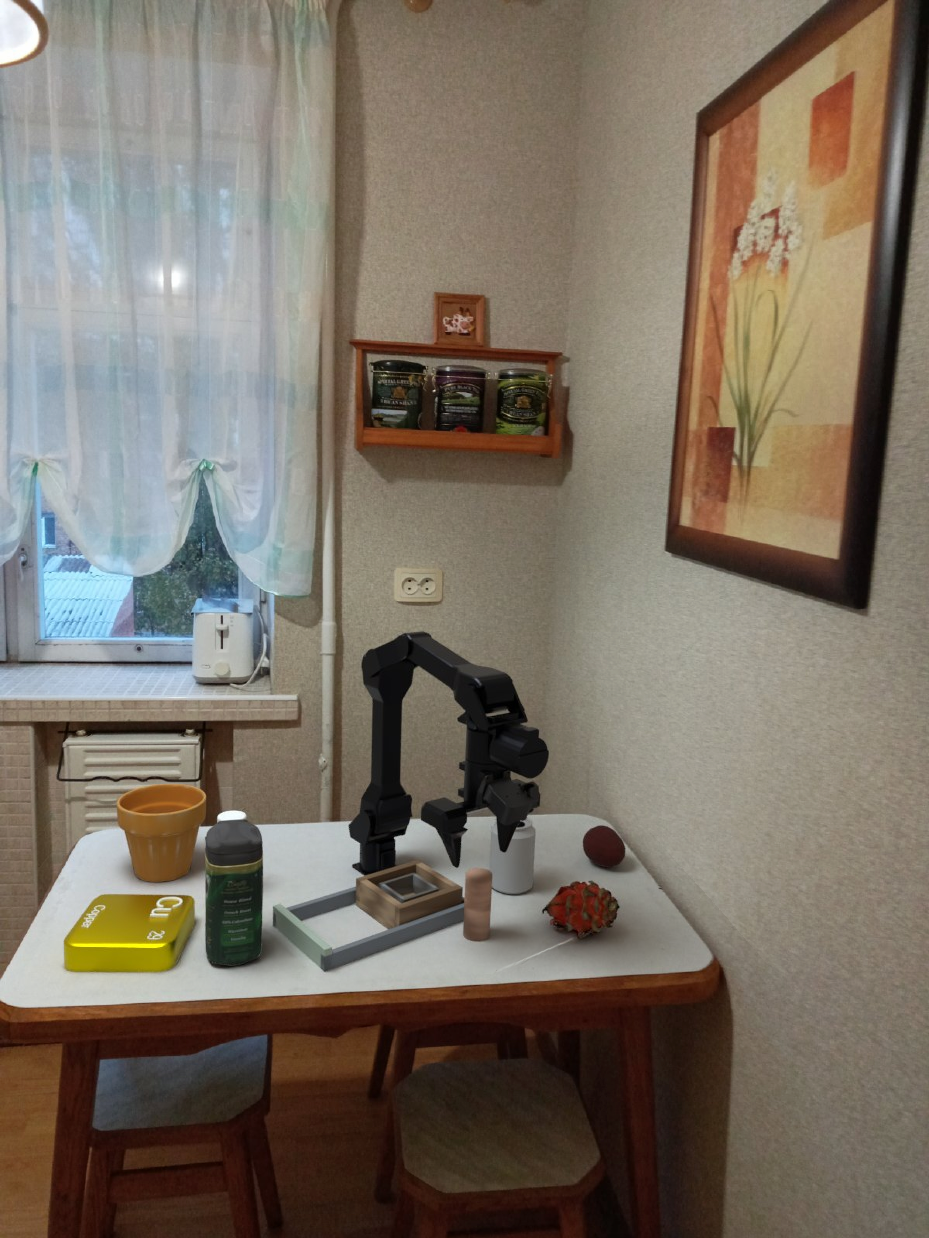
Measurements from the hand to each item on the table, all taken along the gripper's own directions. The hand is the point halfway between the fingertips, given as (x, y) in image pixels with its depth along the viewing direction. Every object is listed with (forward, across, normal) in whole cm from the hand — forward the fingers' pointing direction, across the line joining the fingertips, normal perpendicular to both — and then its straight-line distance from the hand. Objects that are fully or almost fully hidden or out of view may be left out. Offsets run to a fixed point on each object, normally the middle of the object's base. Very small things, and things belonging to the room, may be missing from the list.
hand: (479, 858), depth 132 cm
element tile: (+13, -42, +27) cm, 52 cm away
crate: (+12, -4, +12) cm, 17 cm away
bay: (+12, -10, +12) cm, 20 cm away
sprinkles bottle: (+13, -24, +33) cm, 43 cm away
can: (+13, +15, +9) cm, 22 cm away
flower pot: (+13, -30, +47) cm, 57 cm away
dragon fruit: (+12, +14, -8) cm, 20 cm away
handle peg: (+12, 0, 0) cm, 12 cm away
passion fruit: (+13, +35, +6) cm, 38 cm away
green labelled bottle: (+13, -31, +17) cm, 38 cm away
